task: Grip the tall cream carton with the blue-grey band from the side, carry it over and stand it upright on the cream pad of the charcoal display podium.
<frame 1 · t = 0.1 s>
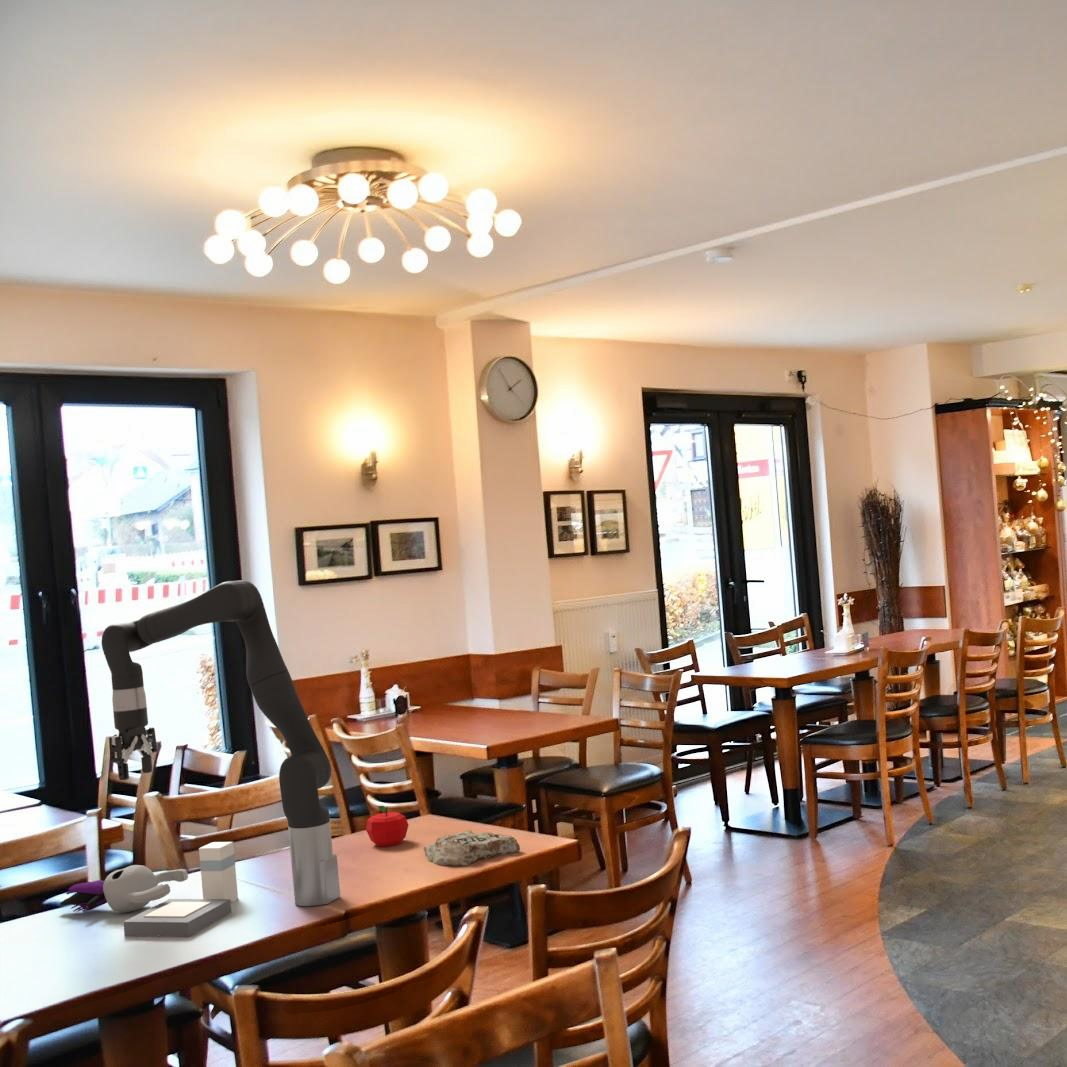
hand: (136, 776, 282), 29 cm above the table, fingers open, 8 cm apart
figurine: (121, 911, 275), on the table
carton: (221, 901, 274), on the table
podium: (179, 924, 259), on the table
apple: (388, 844, 317), on the table
stone: (460, 856, 299), on the table
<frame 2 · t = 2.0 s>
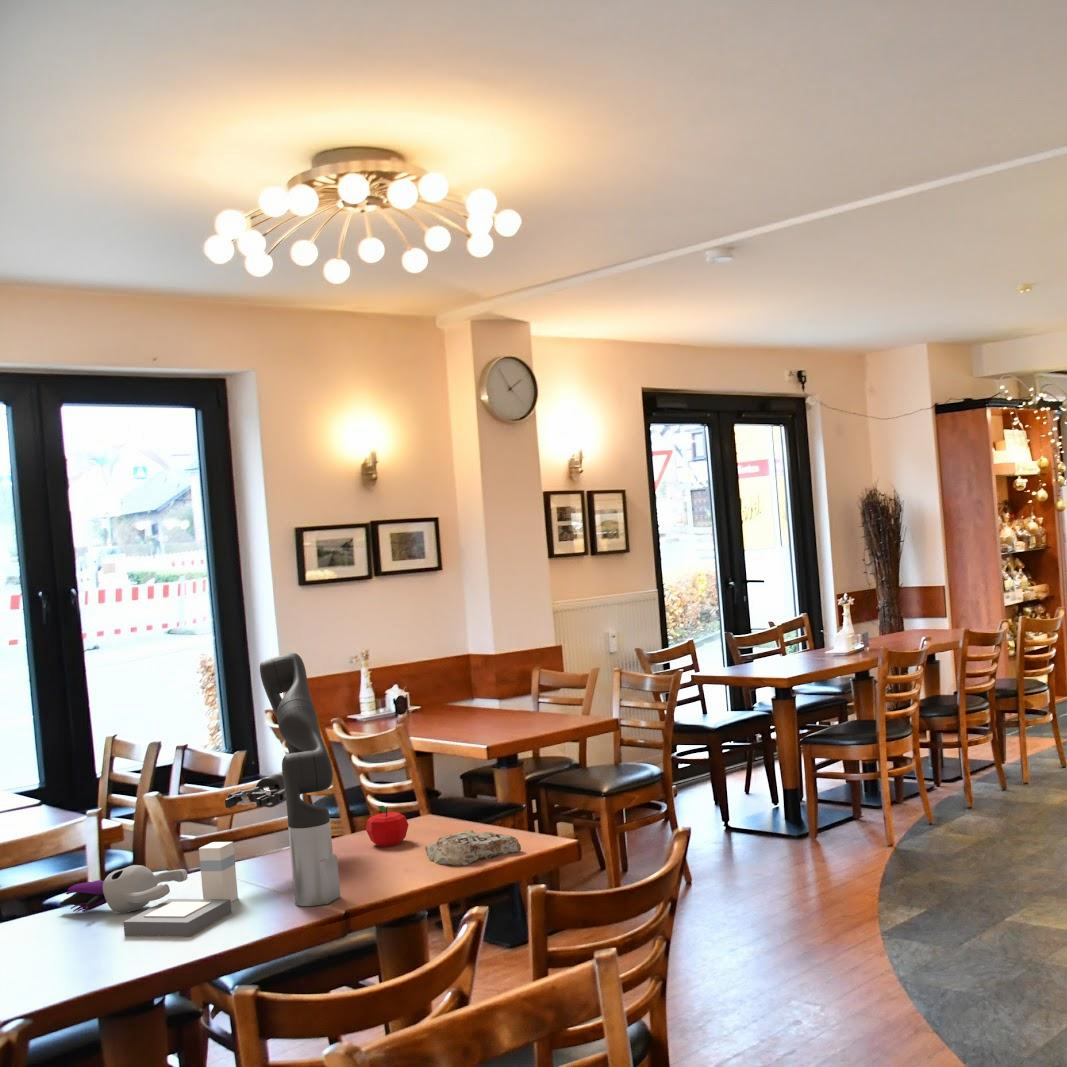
hand: (242, 803, 286), 20 cm above the table, fingers open, 8 cm apart
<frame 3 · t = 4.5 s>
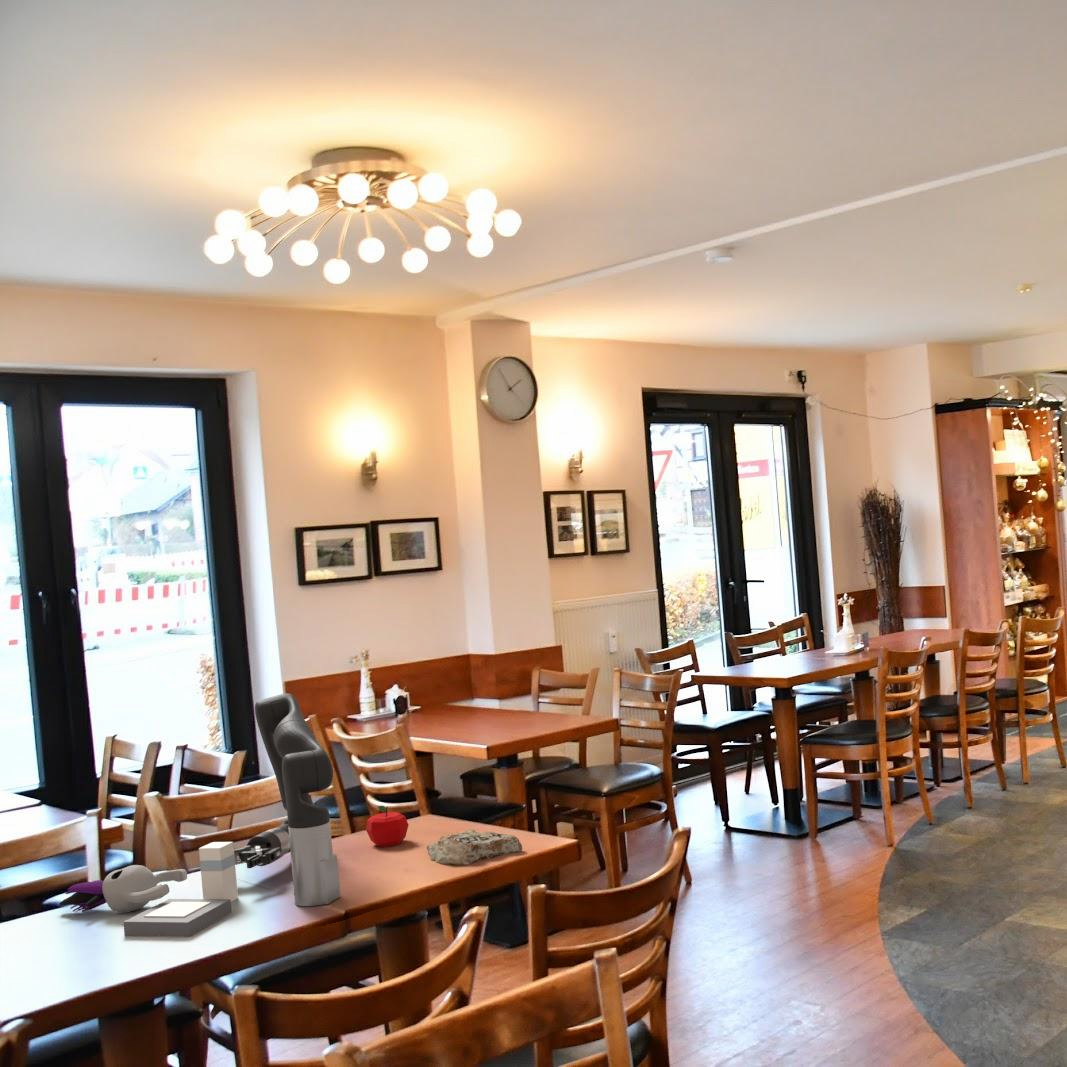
hand: (232, 864, 280), 7 cm above the table, fingers open, 8 cm apart
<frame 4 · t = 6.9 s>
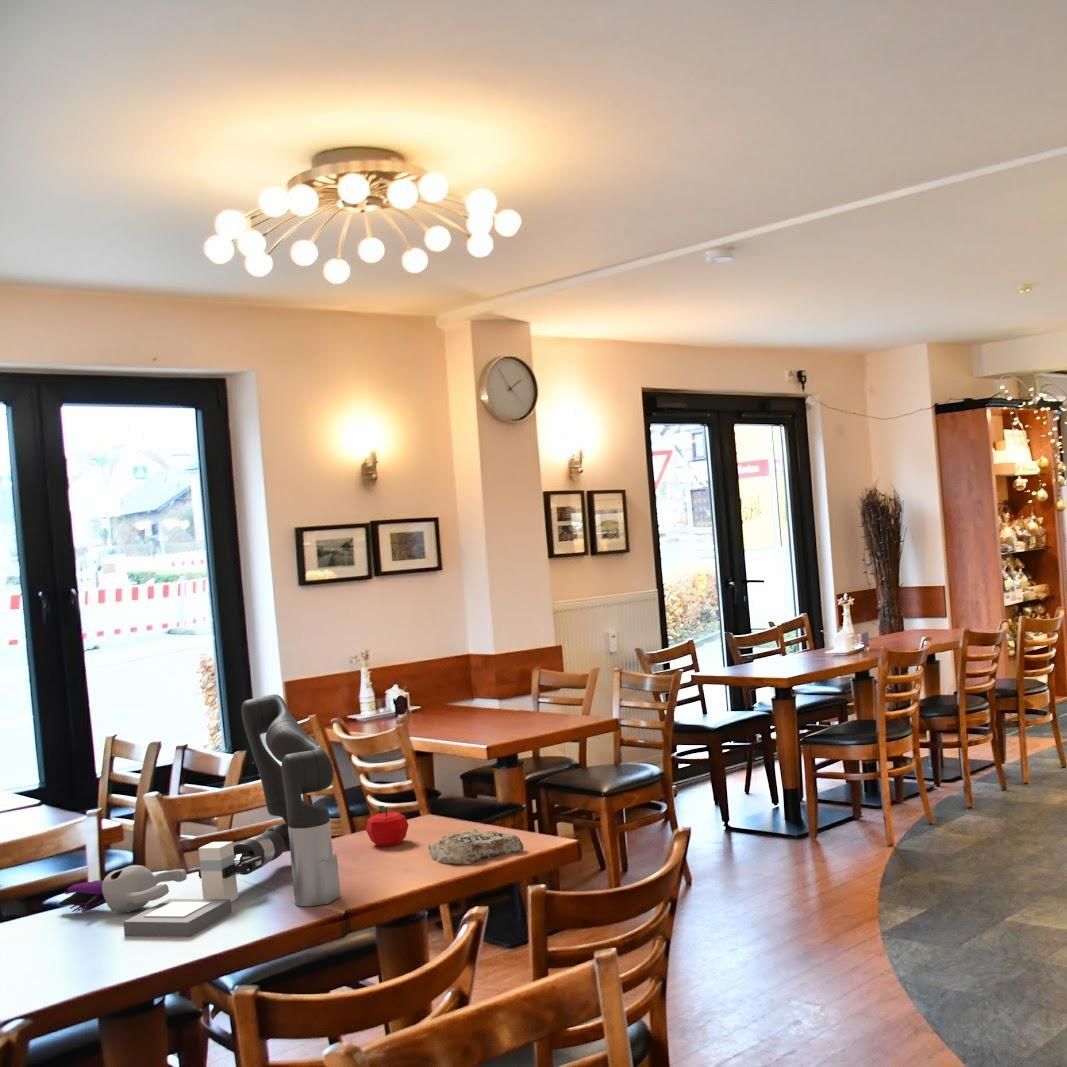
hand: (212, 874, 272), 7 cm above the table, fingers closed on carton, 5 cm apart
carton: (221, 901, 274), on the table, touching gripper
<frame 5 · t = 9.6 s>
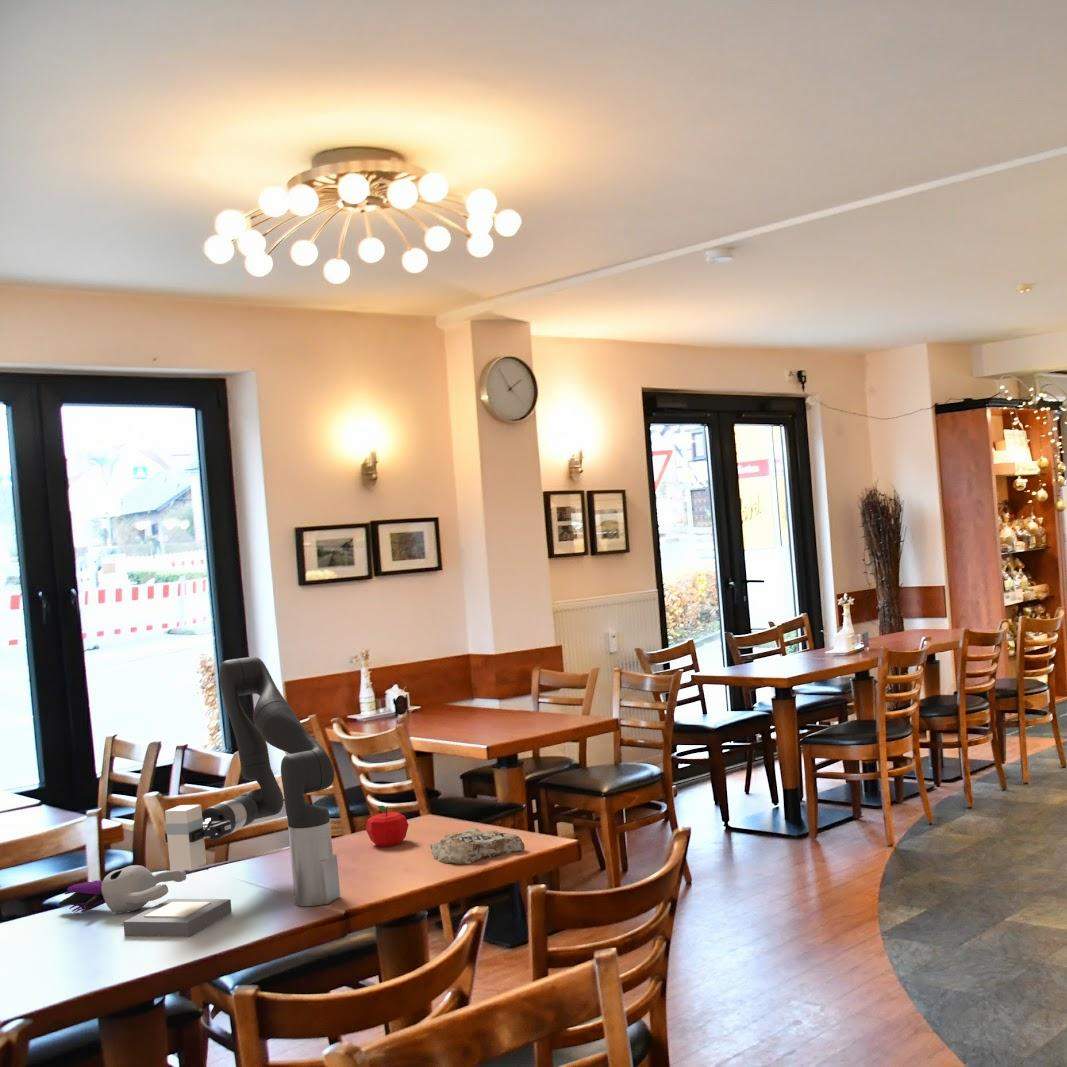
hand: (178, 837, 262), 18 cm above the table, fingers closed on carton, 5 cm apart
carton: (188, 866, 264), point 11 cm above the table, touching gripper
when the fingers open (12 cm above the table, at t = 12.4 s): carton drops 1 cm, resting on podium.
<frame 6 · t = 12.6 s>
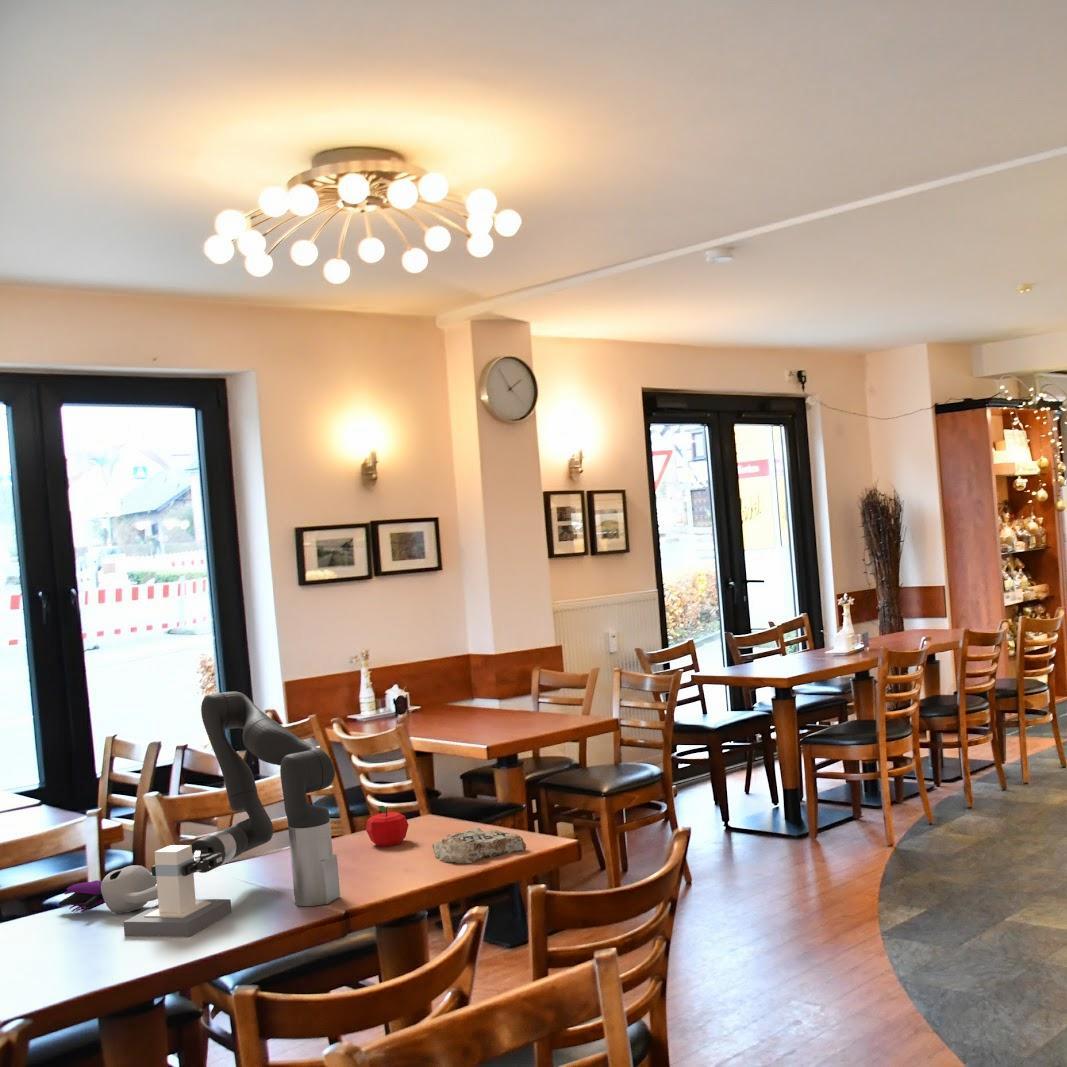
hand: (168, 871, 257), 12 cm above the table, fingers open, 7 cm apart
carton: (177, 908, 259), point 3 cm above the table, touching podium
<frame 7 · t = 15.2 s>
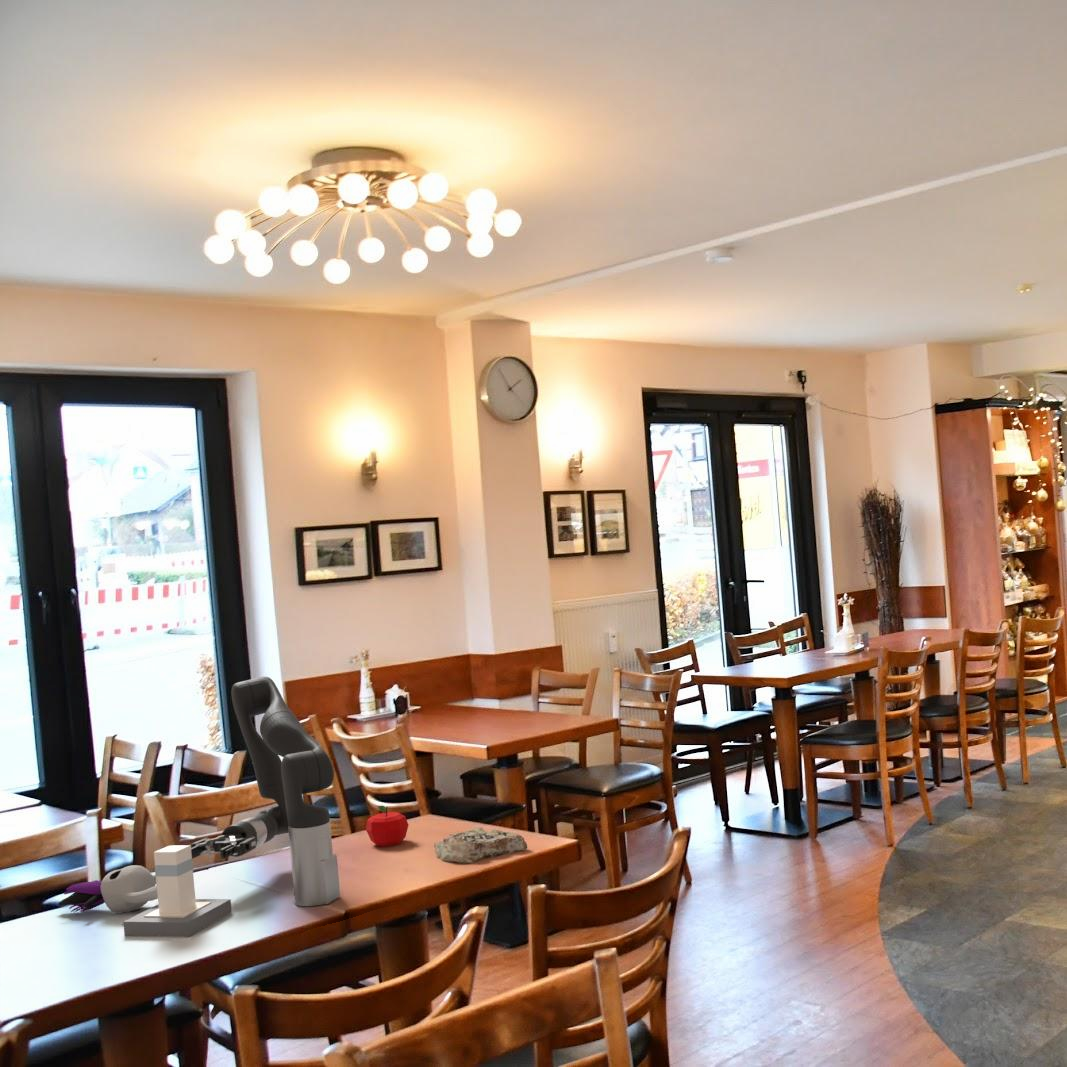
hand: (205, 854, 270), 12 cm above the table, fingers open, 8 cm apart
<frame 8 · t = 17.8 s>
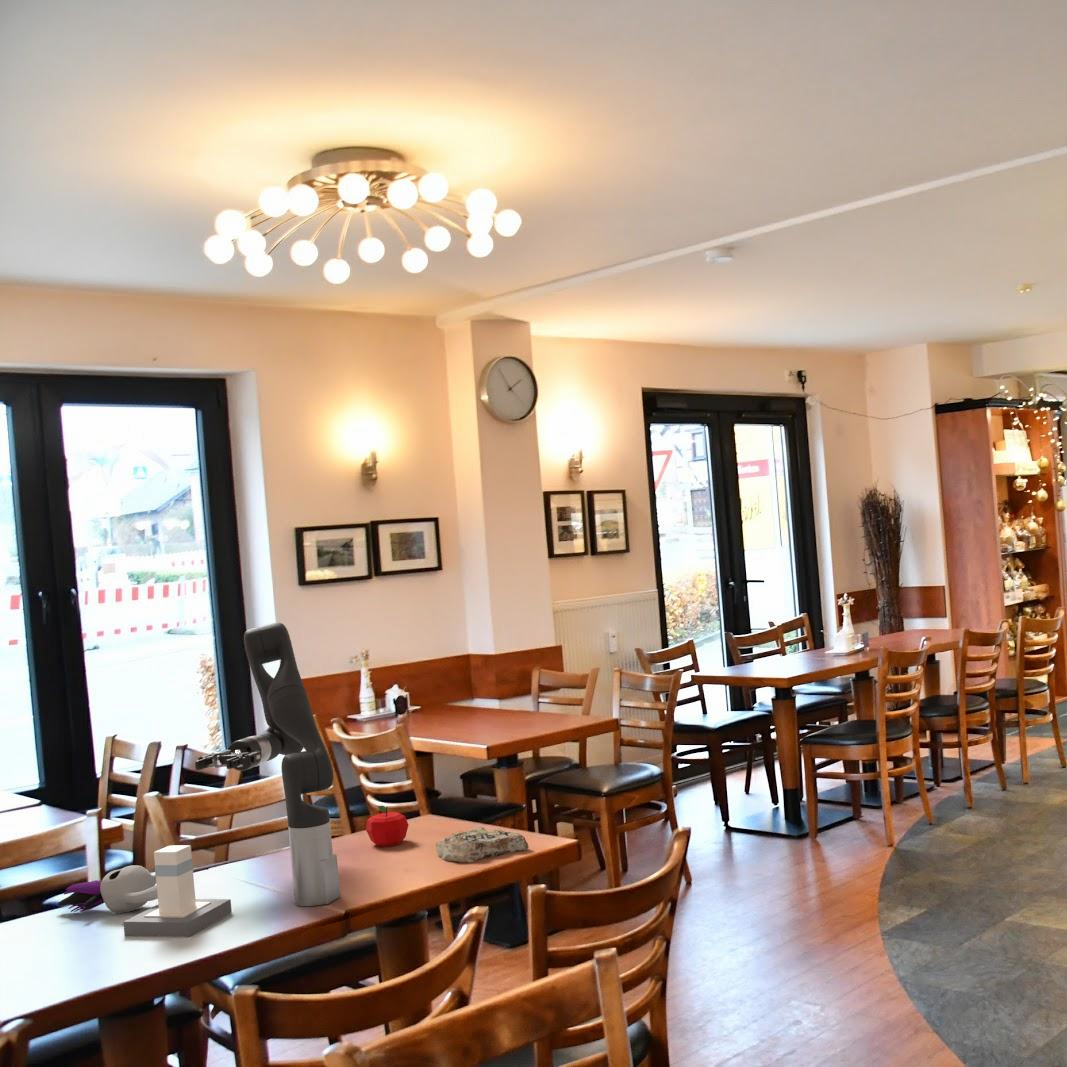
hand: (212, 765, 283), 30 cm above the table, fingers open, 8 cm apart
at the end: carton inside the target area on the podium (0.1 cm from its centre), point 3.3 cm above the podium's base; carton tilted 0°; the gripper is holding nothing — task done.
